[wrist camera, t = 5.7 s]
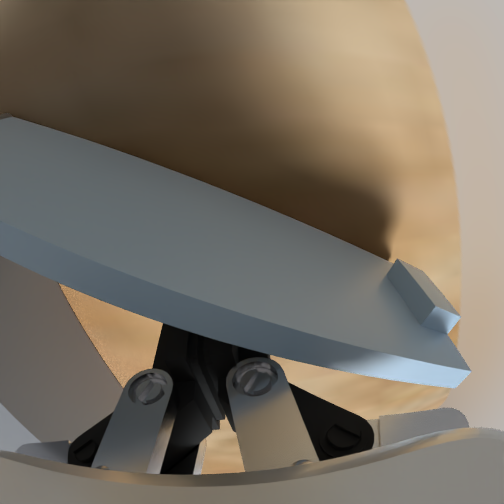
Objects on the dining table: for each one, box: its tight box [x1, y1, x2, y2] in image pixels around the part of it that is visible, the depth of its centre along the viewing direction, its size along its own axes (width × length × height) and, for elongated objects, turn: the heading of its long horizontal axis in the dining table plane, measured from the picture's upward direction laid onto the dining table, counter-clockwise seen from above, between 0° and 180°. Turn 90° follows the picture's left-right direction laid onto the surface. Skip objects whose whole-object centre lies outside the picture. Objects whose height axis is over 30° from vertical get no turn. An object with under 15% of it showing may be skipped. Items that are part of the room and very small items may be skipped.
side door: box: [0, 113, 471, 388], centre depth 8 cm, size 2×19×7 cm, turn 66°
